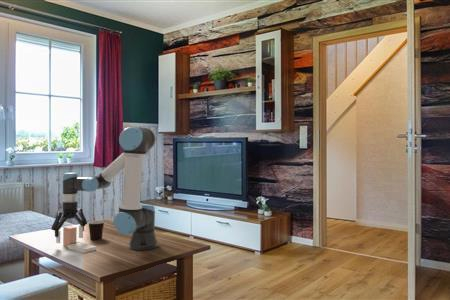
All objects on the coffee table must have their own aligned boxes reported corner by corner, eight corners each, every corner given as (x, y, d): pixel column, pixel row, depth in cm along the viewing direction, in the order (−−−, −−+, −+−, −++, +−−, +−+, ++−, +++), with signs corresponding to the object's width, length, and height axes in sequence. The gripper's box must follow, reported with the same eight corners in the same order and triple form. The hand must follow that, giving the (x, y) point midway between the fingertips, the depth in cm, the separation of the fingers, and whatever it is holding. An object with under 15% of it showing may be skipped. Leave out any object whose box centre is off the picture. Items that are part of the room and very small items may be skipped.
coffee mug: (98, 241, 211) (99, 224, 210) (85, 240, 212) (85, 223, 212) (109, 236, 222) (109, 220, 222) (96, 235, 224) (96, 219, 224)
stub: (76, 245, 201) (76, 227, 200) (69, 247, 197) (69, 228, 197) (69, 243, 204) (69, 225, 204) (63, 245, 201) (63, 227, 200)
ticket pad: (95, 250, 194) (95, 246, 194) (84, 253, 188) (84, 249, 188) (79, 245, 202) (79, 241, 202) (67, 248, 196) (67, 244, 196)
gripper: (85, 198, 213) (85, 234, 213) (44, 203, 192) (43, 243, 192) (94, 199, 209) (93, 236, 209) (52, 204, 188) (52, 246, 188)
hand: (69, 240), depth 201 cm, fingers open, 13 cm apart
